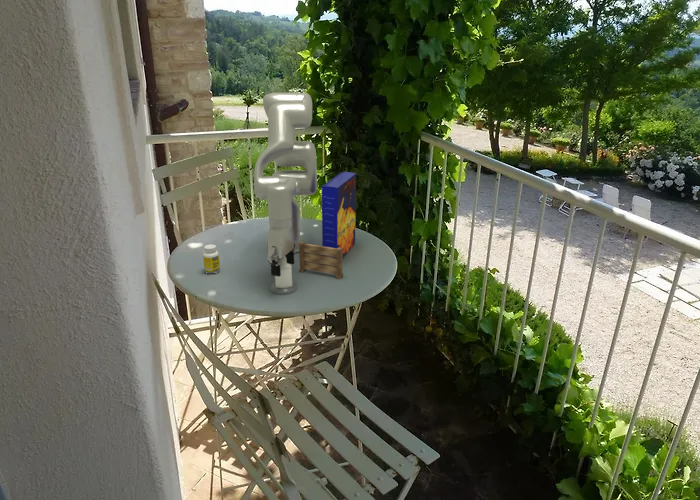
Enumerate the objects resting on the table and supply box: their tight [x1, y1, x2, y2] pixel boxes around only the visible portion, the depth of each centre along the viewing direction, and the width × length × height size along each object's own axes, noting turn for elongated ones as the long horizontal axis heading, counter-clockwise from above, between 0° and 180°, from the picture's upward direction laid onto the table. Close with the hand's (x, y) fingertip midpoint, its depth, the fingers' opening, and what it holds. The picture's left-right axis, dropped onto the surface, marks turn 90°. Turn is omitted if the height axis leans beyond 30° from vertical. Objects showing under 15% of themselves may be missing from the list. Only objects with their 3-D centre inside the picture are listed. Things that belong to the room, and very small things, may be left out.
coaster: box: [269, 281, 298, 295], centre depth 169 cm, size 9×9×1 cm
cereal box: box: [321, 171, 357, 259], centre depth 191 cm, size 22×6×30 cm, turn 162°
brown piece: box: [298, 240, 344, 280], centre depth 177 cm, size 16×3×11 cm, turn 69°
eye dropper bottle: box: [274, 256, 293, 288], centre depth 167 cm, size 4×6×12 cm
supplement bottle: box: [202, 244, 221, 274], centre depth 179 cm, size 5×5×10 cm
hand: (283, 269), depth 167 cm, fingers open, 9 cm apart
